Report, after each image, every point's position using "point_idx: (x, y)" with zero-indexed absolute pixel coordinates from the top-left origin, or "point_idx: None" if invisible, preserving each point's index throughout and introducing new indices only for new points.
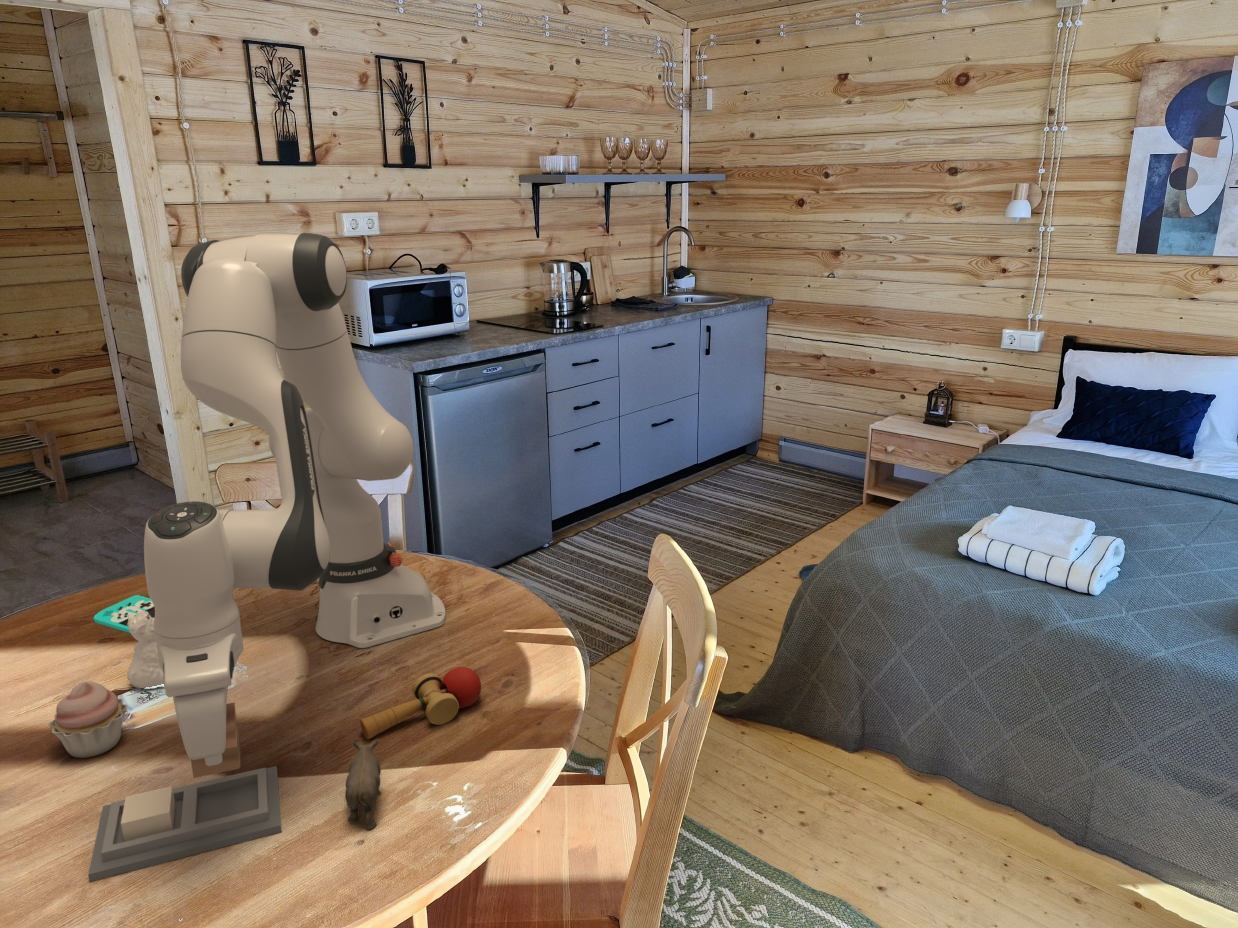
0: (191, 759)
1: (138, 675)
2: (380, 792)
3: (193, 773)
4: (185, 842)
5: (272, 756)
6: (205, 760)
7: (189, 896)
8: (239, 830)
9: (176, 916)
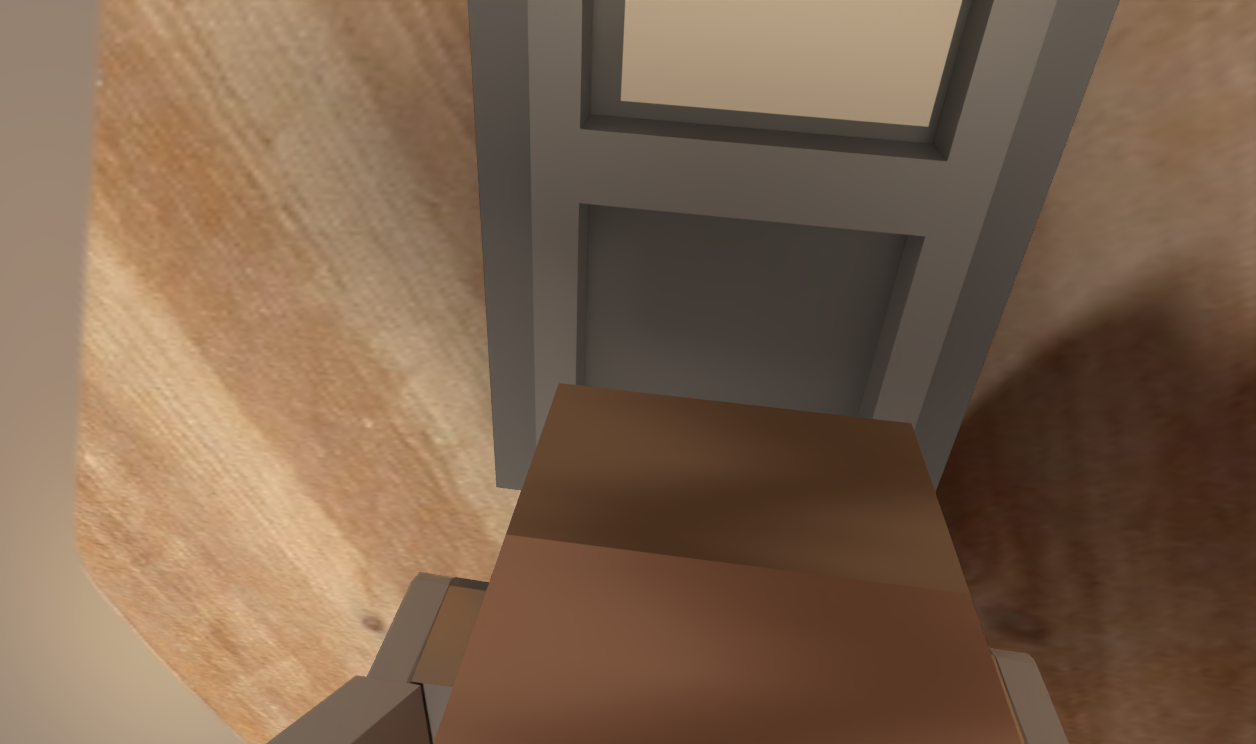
0: (520, 507)
1: None
2: None
3: (550, 411)
4: (529, 129)
5: (1051, 520)
6: (402, 608)
7: (220, 115)
8: (525, 357)
9: (108, 56)
